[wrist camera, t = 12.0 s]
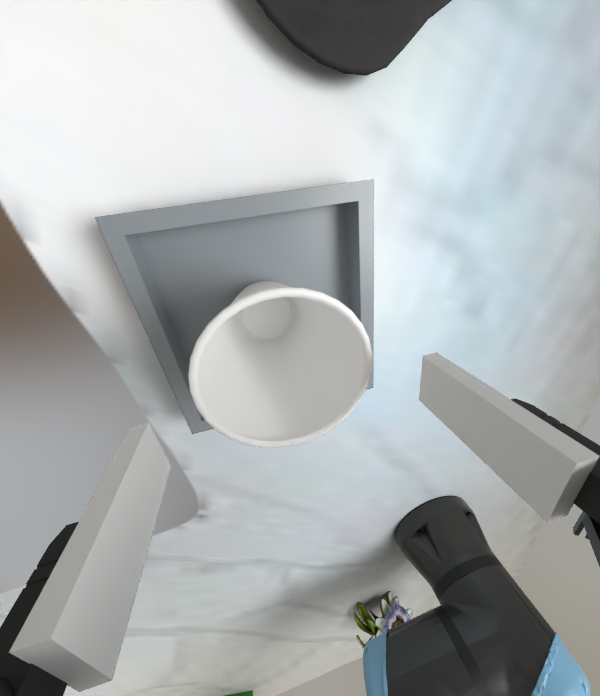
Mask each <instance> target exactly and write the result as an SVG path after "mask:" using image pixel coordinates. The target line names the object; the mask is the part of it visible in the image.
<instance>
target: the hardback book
mask: <svg viewBox="0 0 600 696" xmlns="http://www.w3.org/2000/svg"><path fill="white" fill-rule="evenodd" d="M226 696H253V690H252V691H246V692H241V693H236V694H231V695H226Z"/></svg>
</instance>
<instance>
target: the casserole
mask: <svg viewBox="0 0 600 696" xmlns="http://www.w3.org/2000/svg"><path fill="white" fill-rule="evenodd" d="M257 1H258V3H259V4H260V6H261V7H262V9H263V10H264V12H265V13H266V15H267V16H268V17H269V18H270V19H271V20H272V21H273V23H274V24H275V25H276V26H277V27H278V28H279V29H280V30H281V31H282V32H283V33H284V34H285V36H286V37H287V38H288V39H289V40H290V41H291V42H292V43H293V44H294V45H295V46H297V47H298V48H300V49H301V50H302V51H304V52H305V53H307V54H308V55H309V56H311V57H312V58H314V59H315V60H316V61H318V62H319V63H321V64H323V65H326V66H328V67H331V68H333V69H335V70H338V71H340V72H343V73H345V74H356V75H369V74H371V73H374V72H376V71H379V70H381V69H383V68H386V67H387V66H388V65H389V64H390V63H391V62H392V61H393V60H394V59H395V57H396V56H397V55H398V54H399V53H400V52H401V51H402V50H403V49H404V48H405V46H406V45H407V44H408V43H409V42H410V40H411V39H412V38H413V37H414V36H415V34H416V33H417V32H418V31H419V30H420V28H421V27H422V26H423V25H424V23H425V22H426V21H427V20H428V19H429V18H430V17H432V16H433V15H434V14H435V13H437V12H438V11H439V10H440V9H442V8H443V7H444V6H445V5H447V4H448V3H449V2H450V1H452V0H257Z"/></svg>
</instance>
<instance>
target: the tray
mask: <svg viewBox="0 0 600 696" xmlns="http://www.w3.org/2000/svg"><path fill="white" fill-rule="evenodd" d="M95 219H96V222H97V224H98V226H99V228H100V230H101V233H102V235H103V237H104V239H105V242H106V244H107V246H108V248H109V250H110V253H111V255H112V257H113V259H114V262H115V264H116V266H117V268H118V270H119V273H120V275H121V277H122V279H123V281H124V284H125V286H126V288H127V290H128V293H129V295H130V297H131V299H132V301H133V304H134V306H135V308H136V310H137V313H138V315H139V317H140V319H141V321H142V324H143V326H144V328H145V330H146V333H147V335H148V337H149V339H150V341H151V344H152V346H153V348H154V350H155V352H156V355H157V357H158V359H159V361H160V364H161V366H162V368H163V370H164V372H165V375H166V377H167V379H168V381H169V384H170V386H171V388H172V390H173V392H174V395H175V397H176V399H177V401H178V403H179V406H180V408H181V410H182V412H183V415H184V417H185V419H186V421H187V423H188V426H189V428H190V430H191V432H192V434H194V433H198V432H202V431H206V430H210V429H214V428H213V427H212V426H211V425H210V424H209V423H208V422H206V421H205V419H204V418H203V416H202V415H201V414H200V412H199V411H198V409H197V408H196V406H195V403H194V401H193V398H192V395H191V393H190V387H189V379H188V373H189V364H190V357H191V355H192V352H193V349H194V347H195V344H196V341H197V340H198V338H199V337H200V335H201V334H202V332H203V331H204V329H205V328H206V326H207V325H208V323H210V322H211V321H212V320H213V319H214V318H215V317H216V316H217V315H218V314H219V313H220V312H221V311H222V310H223V309H225V308H226V307H228V306H230V304H231V303H232V302H233V301H234V299H235V298H236V297H237V296H238V294H239V293H240V292H241V291H242V290H243V289H244V288H246V287H248V286H249V285H251V284H254V283H256V282H261V281H273V282H277V283H281V284H284V285H286V286H289V287H293V288H306V289H310V290H314V291H318V292H322V293H324V294H326V295H328V296H331V297H333V298H335V299H337V300H339V301H340V302H341V303H343V304H344V305H345V306H346V307H348V308H349V309H350V310H351V311H352V312H353V313H354V314H355V315H356V317H357V318H358V319H359V320H360V322H361V323H362V324H363V326H364V328H365V331H366V333H367V335H368V337H369V340H370V345H371V350H372V370H371V374H370V378H369V383H368V385H367V387H366V389H370V388H373V330H374V179H371V180H364V181H357V182H349V183H342V184H335V185H327V186H320V187H313V188H305V189H298V190H291V191H284V192H276V193H269V194H262V195H254V196H247V197H240V198H232V199H225V200H218V201H211V202H203V203H196V204H189V205H181V206H174V207H167V208H159V209H152V210H145V211H138V212H130V213H123V214H116V215H108V216H101V217H95ZM366 389H365V390H366Z"/></svg>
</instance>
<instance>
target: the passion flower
mask: <svg viewBox="0 0 600 696" xmlns="http://www.w3.org/2000/svg"><path fill="white" fill-rule="evenodd" d="M386 598H387V602H386V600H384V599H383V598H382V599H381V601H380V608H381V611H382V617H381V618H380V617H376V616H375V615H374V614H373V612H371V611H370V610H369V611H370V612H371V613H372V615H373V617H374V619H375V621H374V620H373V619H372V618H371V616H370V614H369V613H368V611H367V610H366V608H365V607H364V606H363V604H362V603H359V602H358V603H357V606H358V610H359V613H360V616H361V619H362V621H363V622H364V623H365V624H366V625H365V624H364V623H363V622H362V621H361V620H360V619H359V618H358V617H357V615H356V614H355V612H354V614H355V621H356V623H357V625H358V626H359V627H360V629H362V630H363V631H364V632H366V633H369V634H370V635H373V636H374V635H375V637H376V636H378V635H380V634H382V633H383V632H384V631H385V629H388V628H389V629H391V628H393V627H396V626H398V625H400V624H402V623H405V622H407V621H409V620H410V617H411V615H412V612H413V611H412V610H411V609H407V610H406V611H405V609H404V608H403V607H402V606H400V605H399V601H398V597H397V596H396V597H394V598H392V594H391V591H389V592H387V595H386ZM387 603H388V604H387ZM373 636H372V637H373ZM372 637H371V638H370V639H369V641H370V640H371V639H372ZM357 640H358V641H359V643H360V644H361V645H362V647H363V648H364V647H365V646H366V644H367V643H366V644H363V642H362V641H361V640H360V638H359V636H358V635H357Z"/></svg>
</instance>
